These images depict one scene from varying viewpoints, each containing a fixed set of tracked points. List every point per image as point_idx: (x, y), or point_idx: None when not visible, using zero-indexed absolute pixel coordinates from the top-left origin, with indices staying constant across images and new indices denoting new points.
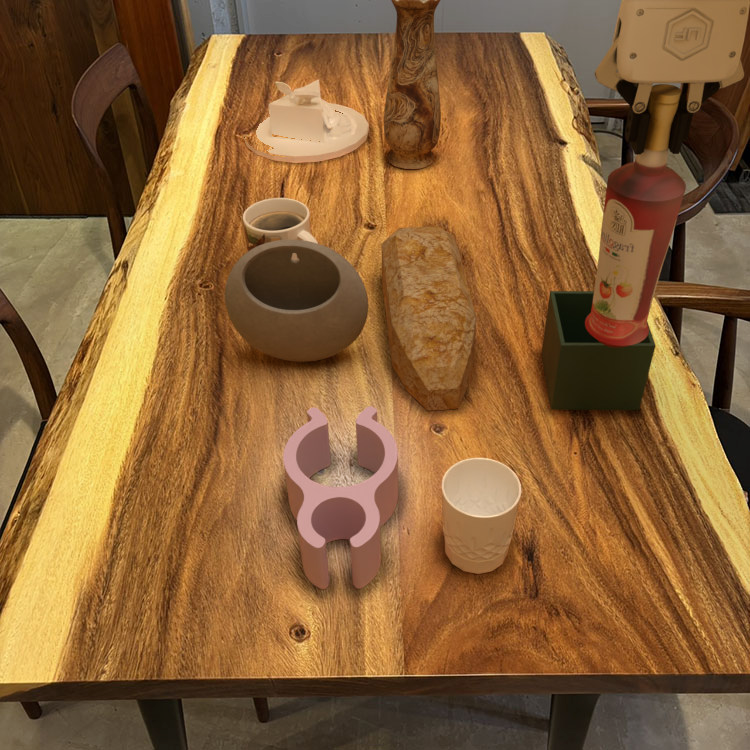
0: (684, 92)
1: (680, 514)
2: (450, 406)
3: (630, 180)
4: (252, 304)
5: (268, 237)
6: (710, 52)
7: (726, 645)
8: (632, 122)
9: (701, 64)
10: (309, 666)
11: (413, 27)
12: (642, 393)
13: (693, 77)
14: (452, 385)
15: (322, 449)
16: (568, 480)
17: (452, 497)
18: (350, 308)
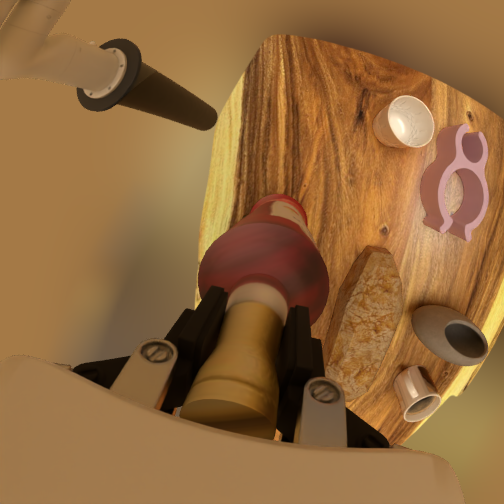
0: (165, 408)
1: (257, 121)
2: (372, 247)
3: (305, 281)
4: (478, 328)
5: (434, 392)
6: (30, 483)
7: (271, 43)
8: (323, 367)
9: (86, 459)
10: (466, 98)
11: None
12: (242, 218)
13: (140, 421)
14: (376, 254)
15: (458, 219)
16: (318, 163)
17: (413, 142)
18: (432, 321)
